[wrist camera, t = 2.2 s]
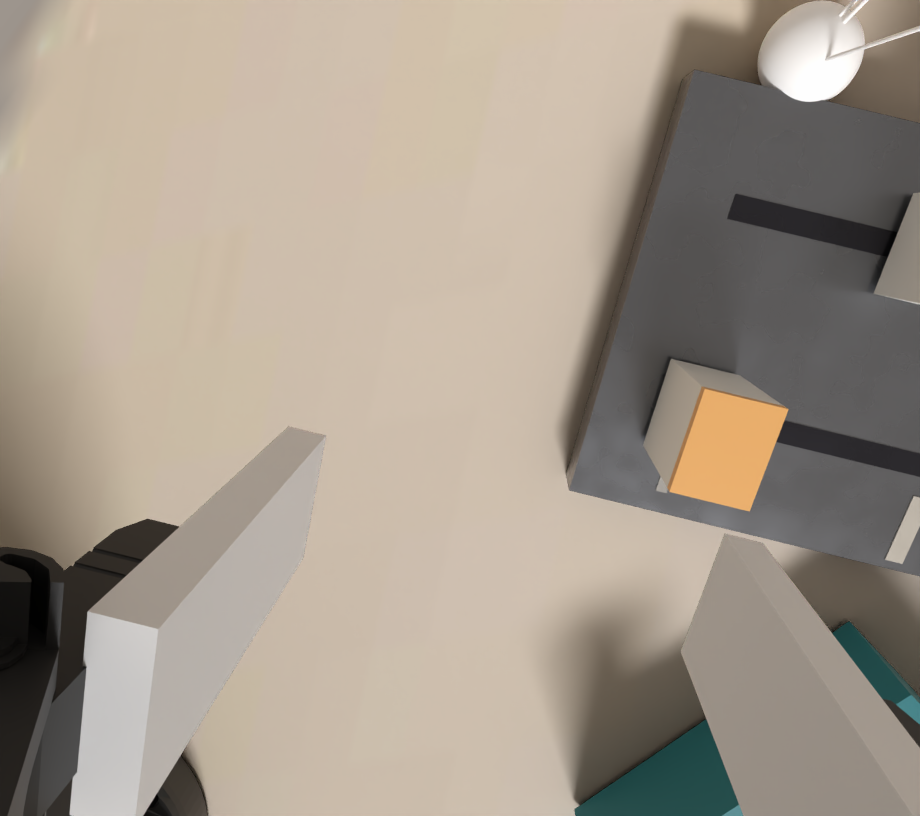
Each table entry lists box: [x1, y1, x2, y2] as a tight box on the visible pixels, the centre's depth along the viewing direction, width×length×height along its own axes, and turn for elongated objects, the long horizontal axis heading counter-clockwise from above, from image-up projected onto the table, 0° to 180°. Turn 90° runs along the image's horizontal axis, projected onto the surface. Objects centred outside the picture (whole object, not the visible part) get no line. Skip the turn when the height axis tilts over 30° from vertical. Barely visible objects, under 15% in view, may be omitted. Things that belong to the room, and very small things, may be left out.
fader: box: [643, 359, 789, 512], centre depth 27 cm, size 3×4×5 cm
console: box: [566, 70, 920, 576], centre depth 30 cm, size 25×18×2 cm
